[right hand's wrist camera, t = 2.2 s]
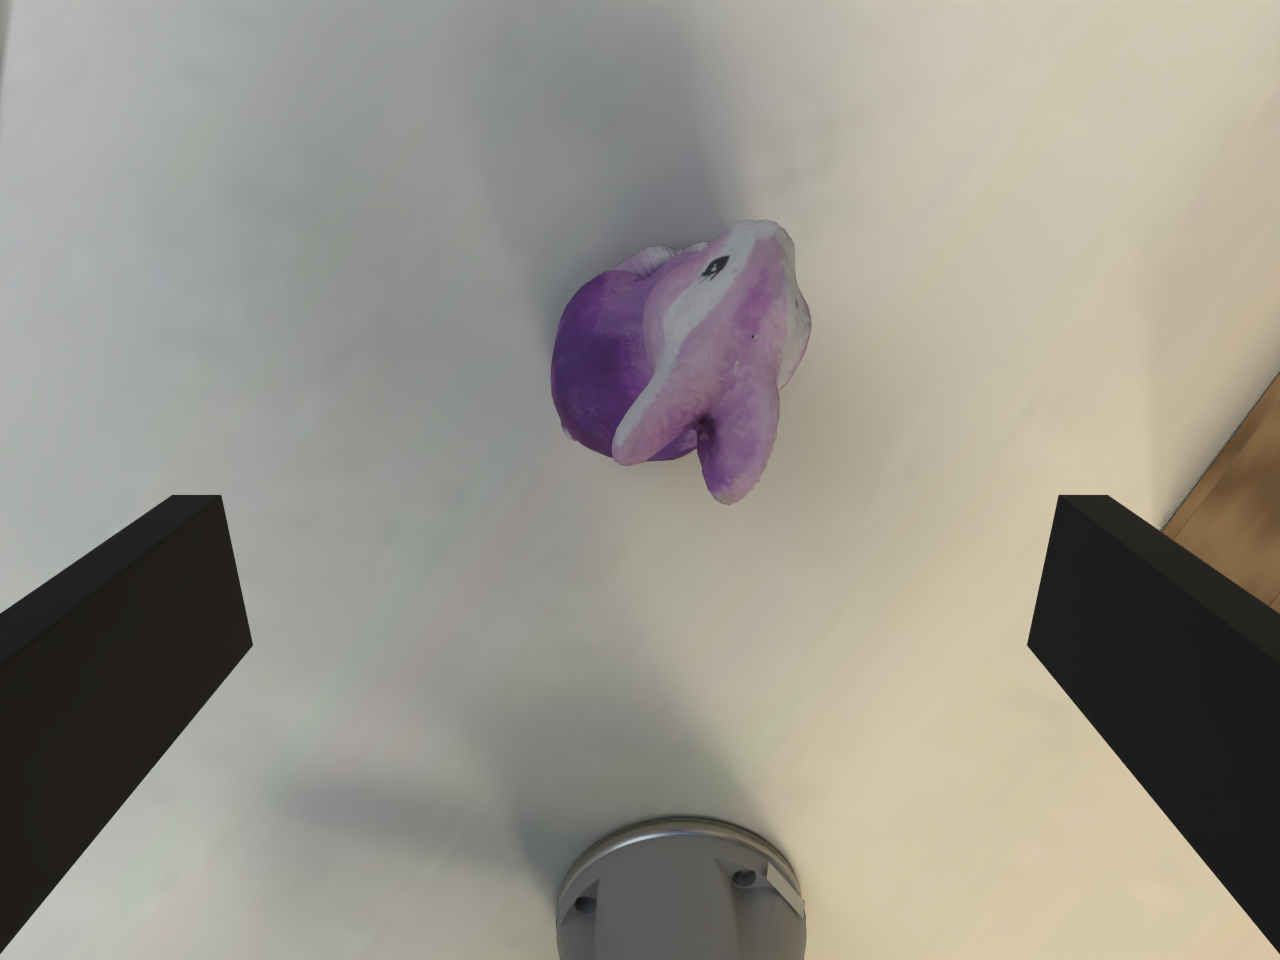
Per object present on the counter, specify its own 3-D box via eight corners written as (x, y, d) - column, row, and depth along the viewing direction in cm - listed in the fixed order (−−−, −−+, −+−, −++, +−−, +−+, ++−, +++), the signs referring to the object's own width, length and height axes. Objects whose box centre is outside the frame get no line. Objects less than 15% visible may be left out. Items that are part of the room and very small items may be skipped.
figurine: (772, 205, 34) (864, 233, 20) (759, 431, 37) (829, 589, 24) (552, 206, 34) (489, 234, 20) (561, 432, 38) (514, 589, 24)
